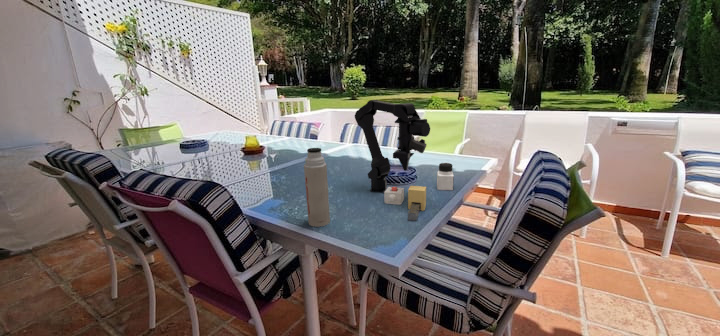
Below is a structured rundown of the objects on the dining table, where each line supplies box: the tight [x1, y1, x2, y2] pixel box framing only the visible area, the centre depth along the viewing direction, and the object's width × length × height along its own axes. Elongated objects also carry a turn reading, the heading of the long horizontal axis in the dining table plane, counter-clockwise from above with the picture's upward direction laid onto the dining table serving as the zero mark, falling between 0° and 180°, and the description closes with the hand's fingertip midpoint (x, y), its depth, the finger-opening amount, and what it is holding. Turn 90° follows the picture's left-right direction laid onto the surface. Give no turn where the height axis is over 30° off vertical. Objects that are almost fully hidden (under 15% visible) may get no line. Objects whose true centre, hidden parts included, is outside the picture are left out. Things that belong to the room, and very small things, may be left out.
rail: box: [407, 202, 421, 222], centre depth 123 cm, size 3×16×3 cm, turn 161°
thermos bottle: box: [303, 147, 331, 228], centre depth 113 cm, size 8×8×28 cm
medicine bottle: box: [436, 162, 455, 191], centre depth 148 cm, size 7×7×12 cm
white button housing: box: [383, 186, 405, 205], centre depth 134 cm, size 7×7×5 cm
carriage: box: [407, 185, 427, 212], centre depth 126 cm, size 6×5×8 cm
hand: (405, 170), depth 135 cm, fingers closed
